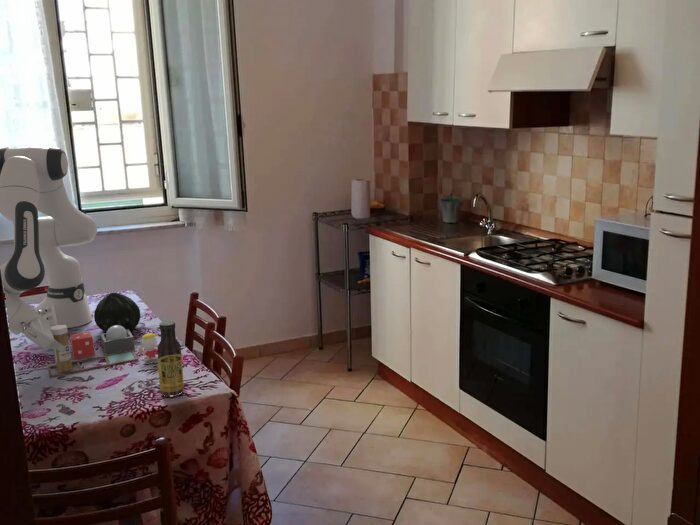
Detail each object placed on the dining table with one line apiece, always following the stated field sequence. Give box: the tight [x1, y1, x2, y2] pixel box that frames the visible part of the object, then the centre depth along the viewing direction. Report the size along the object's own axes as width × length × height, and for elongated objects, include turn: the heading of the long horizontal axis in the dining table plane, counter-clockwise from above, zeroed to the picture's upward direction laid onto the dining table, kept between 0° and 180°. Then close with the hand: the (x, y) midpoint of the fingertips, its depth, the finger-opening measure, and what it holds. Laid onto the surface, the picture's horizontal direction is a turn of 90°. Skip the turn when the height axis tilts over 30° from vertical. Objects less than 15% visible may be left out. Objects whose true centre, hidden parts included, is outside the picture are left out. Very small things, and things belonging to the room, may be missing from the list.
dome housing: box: [100, 329, 135, 355], centre depth 225 cm, size 9×9×4 cm
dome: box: [106, 325, 127, 341], centre depth 225 cm, size 6×6×6 cm
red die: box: [69, 331, 96, 359], centre depth 221 cm, size 6×6×6 cm
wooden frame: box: [47, 349, 139, 379], centre depth 212 cm, size 25×9×1 cm, turn 117°
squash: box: [93, 292, 141, 333], centre depth 240 cm, size 14×15×15 cm
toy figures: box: [136, 332, 158, 362], centre depth 214 cm, size 12×4×8 cm, turn 111°
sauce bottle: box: [156, 320, 185, 396], centre depth 186 cm, size 7×6×20 cm
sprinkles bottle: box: [50, 325, 73, 373], centre depth 207 cm, size 5×5×13 cm
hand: (62, 344), depth 207 cm, fingers open, 8 cm apart
